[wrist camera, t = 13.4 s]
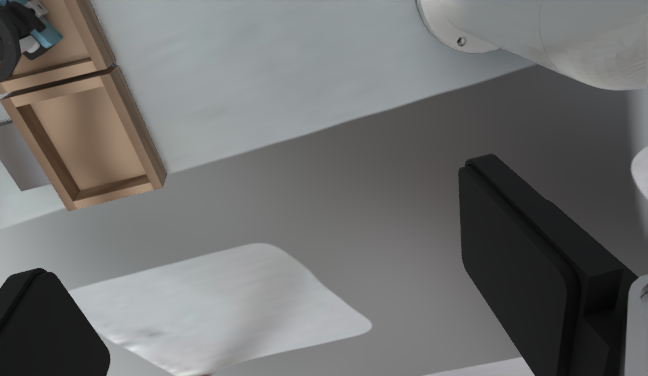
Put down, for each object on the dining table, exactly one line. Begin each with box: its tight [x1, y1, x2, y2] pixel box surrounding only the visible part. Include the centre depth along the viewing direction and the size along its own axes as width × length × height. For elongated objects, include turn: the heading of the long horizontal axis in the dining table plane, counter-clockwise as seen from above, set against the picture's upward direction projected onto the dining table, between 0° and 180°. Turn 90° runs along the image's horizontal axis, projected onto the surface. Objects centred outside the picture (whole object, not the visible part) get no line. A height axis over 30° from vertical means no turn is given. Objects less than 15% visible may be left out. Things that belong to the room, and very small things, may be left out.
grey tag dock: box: [0, 65, 167, 211], centre depth 37 cm, size 12×11×3 cm
